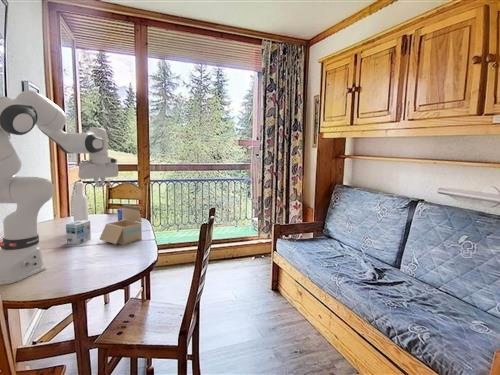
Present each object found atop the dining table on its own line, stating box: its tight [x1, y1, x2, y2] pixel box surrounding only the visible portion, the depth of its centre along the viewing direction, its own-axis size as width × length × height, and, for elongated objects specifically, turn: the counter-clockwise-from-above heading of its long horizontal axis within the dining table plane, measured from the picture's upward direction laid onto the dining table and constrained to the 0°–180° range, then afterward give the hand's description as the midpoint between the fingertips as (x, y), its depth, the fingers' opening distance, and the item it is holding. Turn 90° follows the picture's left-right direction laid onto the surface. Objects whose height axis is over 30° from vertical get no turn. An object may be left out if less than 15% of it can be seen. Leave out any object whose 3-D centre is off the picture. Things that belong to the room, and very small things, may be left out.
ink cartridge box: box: [116, 203, 136, 222], centre depth 198 cm, size 10×6×14 cm, turn 147°
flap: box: [122, 204, 142, 223], centre depth 175 cm, size 9×13×1 cm
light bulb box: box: [65, 220, 92, 246], centre depth 166 cm, size 11×7×11 cm, turn 168°
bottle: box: [72, 181, 89, 222], centre depth 183 cm, size 8×8×30 cm
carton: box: [99, 220, 143, 245], centre depth 170 cm, size 17×14×9 cm
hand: (99, 186), depth 158 cm, fingers closed
